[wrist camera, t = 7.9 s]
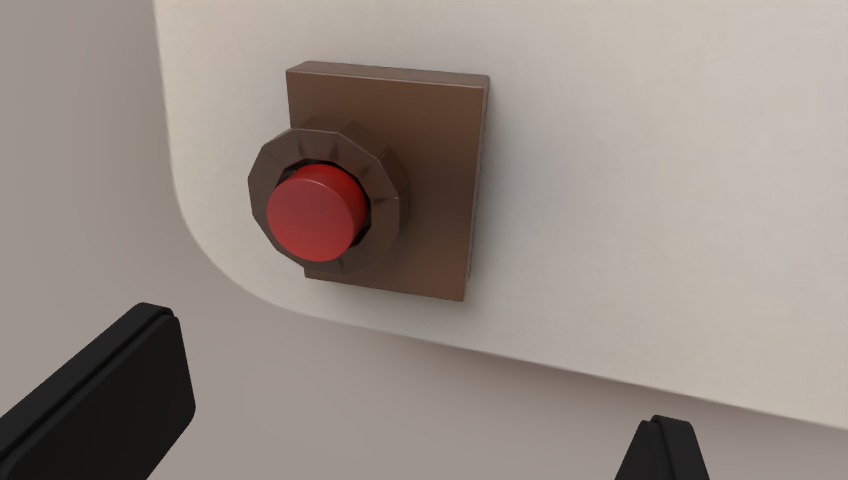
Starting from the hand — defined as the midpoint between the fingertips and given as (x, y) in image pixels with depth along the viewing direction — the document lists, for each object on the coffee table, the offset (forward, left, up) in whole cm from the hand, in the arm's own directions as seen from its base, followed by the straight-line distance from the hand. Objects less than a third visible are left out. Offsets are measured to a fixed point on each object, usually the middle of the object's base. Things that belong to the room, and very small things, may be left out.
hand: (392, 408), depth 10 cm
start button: (-1, +6, -11) cm, 12 cm away
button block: (-1, +4, -14) cm, 15 cm away
